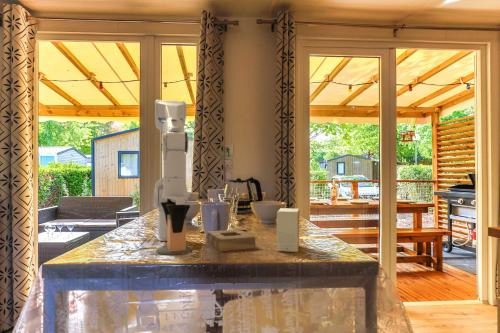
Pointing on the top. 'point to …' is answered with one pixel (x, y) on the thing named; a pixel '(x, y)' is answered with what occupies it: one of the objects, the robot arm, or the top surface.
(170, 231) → the plug
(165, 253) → the coaster
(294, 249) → the small box
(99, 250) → the top surface
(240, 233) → the tan square socket
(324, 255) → the top surface
